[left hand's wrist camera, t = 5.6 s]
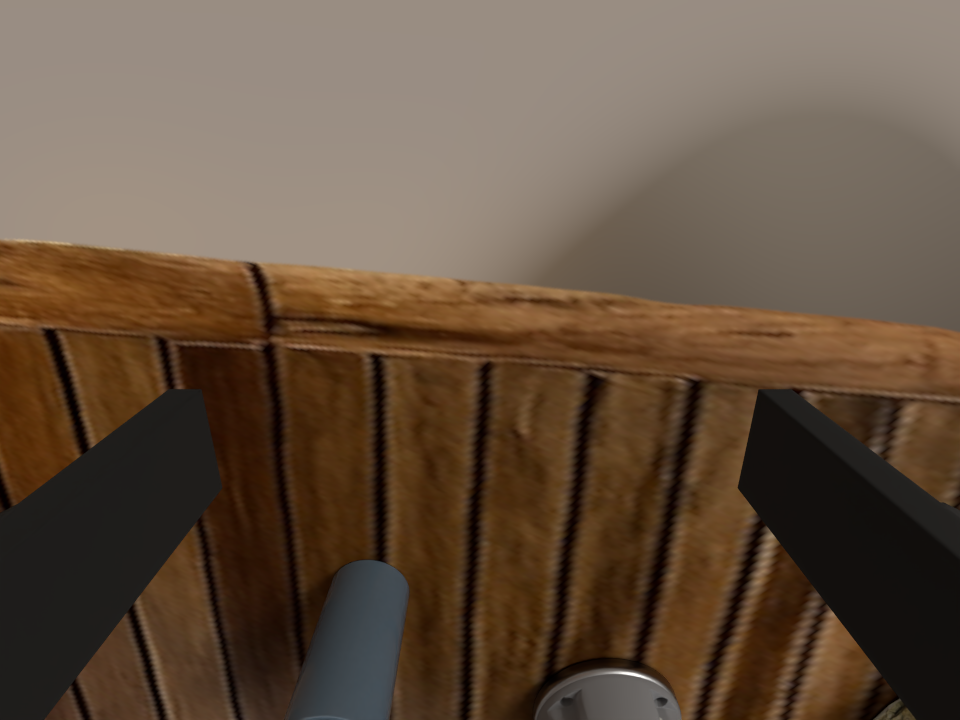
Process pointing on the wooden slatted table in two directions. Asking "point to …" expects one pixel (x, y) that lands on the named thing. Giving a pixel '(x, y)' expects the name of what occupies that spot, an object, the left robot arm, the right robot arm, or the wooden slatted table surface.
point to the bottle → (354, 647)
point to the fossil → (895, 712)
